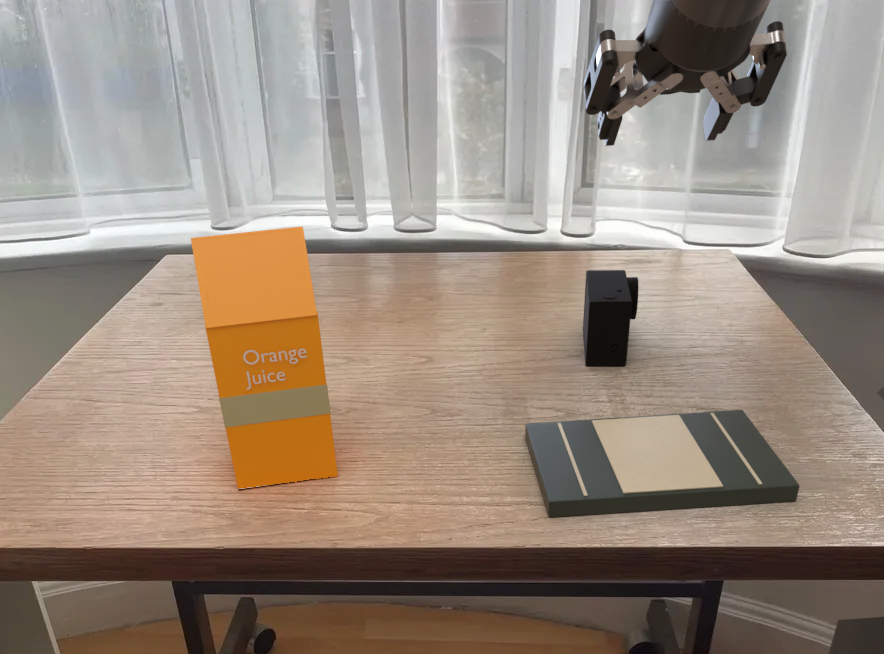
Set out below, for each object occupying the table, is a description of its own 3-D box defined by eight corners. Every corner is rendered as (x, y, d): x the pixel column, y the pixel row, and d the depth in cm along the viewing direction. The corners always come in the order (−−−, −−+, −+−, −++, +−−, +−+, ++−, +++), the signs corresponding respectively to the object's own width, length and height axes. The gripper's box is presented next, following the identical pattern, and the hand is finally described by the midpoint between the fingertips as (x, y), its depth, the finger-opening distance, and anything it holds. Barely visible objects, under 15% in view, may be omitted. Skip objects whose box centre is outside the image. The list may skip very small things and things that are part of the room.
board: (739, 424, 83) (742, 408, 82) (796, 501, 72) (800, 484, 71) (525, 437, 83) (525, 422, 82) (548, 517, 72) (549, 500, 71)
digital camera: (637, 366, 95) (644, 300, 90) (585, 367, 95) (589, 301, 91) (630, 330, 103) (636, 268, 99) (582, 331, 103) (586, 269, 99)
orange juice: (234, 450, 83) (189, 225, 71) (328, 438, 85) (300, 214, 73) (237, 491, 77) (188, 252, 65) (339, 477, 79) (310, 239, 66)
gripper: (619, 29, 59) (578, 179, 75) (833, 18, 59) (746, 170, 75) (609, -71, 60) (570, 97, 76) (819, -81, 60) (736, 89, 76)
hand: (658, 133), depth 76 cm, fingers open, 8 cm apart
